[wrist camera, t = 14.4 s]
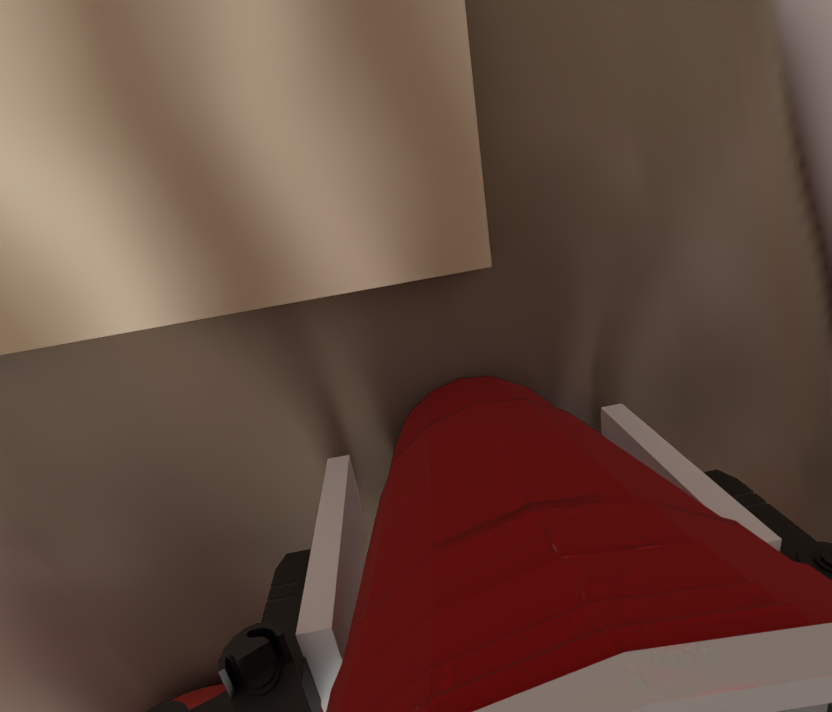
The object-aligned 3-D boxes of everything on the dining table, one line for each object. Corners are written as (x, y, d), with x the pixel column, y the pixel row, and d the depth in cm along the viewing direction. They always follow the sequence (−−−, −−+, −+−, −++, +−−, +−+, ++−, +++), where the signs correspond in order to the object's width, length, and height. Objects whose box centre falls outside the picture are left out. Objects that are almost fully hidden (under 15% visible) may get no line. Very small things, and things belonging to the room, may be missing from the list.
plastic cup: (376, 592, 19) (377, 1203, 7) (284, 358, 15) (-7, 877, 4) (628, 524, 18) (1022, 1037, 7) (601, 271, 15) (1338, 522, 3)
